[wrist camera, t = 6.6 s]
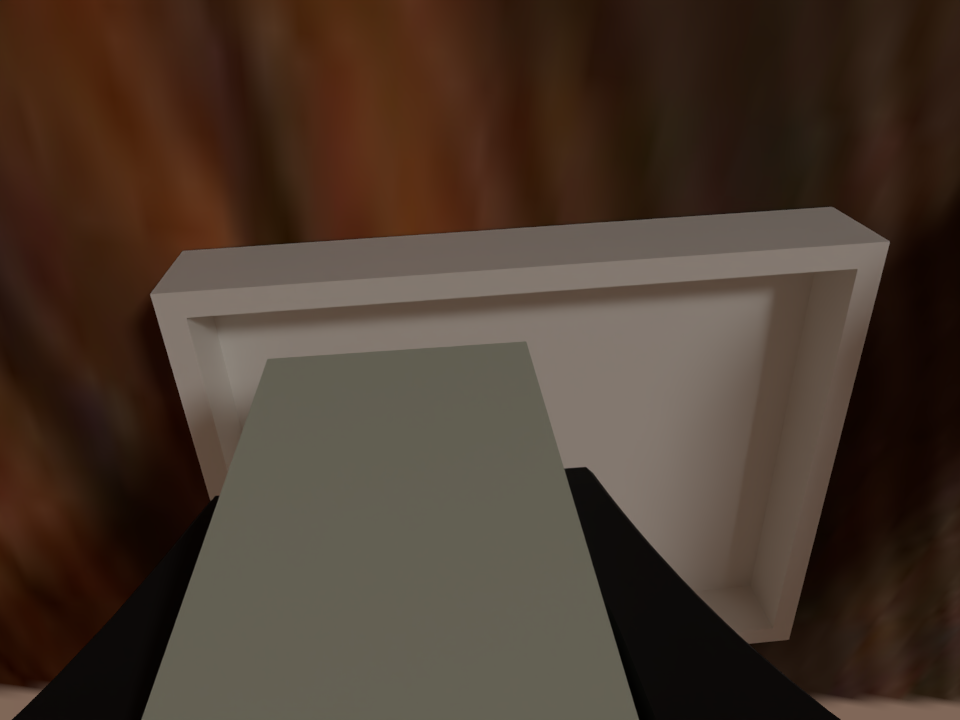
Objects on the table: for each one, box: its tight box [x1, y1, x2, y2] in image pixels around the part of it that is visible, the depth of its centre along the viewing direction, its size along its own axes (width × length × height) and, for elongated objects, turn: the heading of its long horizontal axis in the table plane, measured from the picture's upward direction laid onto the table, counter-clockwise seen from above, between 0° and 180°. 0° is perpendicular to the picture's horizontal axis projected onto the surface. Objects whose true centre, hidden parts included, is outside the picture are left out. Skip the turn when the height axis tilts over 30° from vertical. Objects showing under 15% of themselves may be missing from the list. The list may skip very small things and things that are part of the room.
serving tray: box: [150, 207, 890, 644], centre depth 20 cm, size 16×13×2 cm
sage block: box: [141, 341, 639, 720], centre depth 9 cm, size 4×4×7 cm
